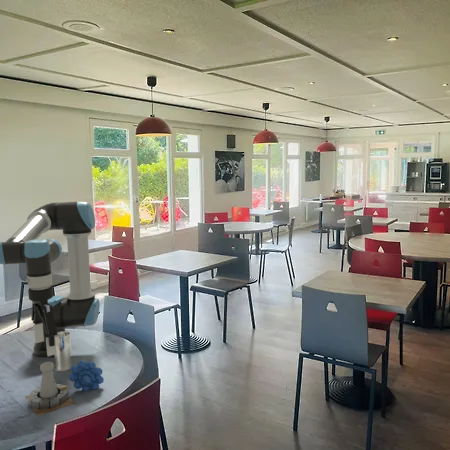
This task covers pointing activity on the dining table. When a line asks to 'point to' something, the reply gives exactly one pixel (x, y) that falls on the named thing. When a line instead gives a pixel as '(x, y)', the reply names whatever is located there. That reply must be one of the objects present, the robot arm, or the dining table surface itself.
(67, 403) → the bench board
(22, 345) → the dining table surface
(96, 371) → the grapes
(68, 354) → the beer glass
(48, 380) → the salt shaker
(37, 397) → the grey segmented ring
